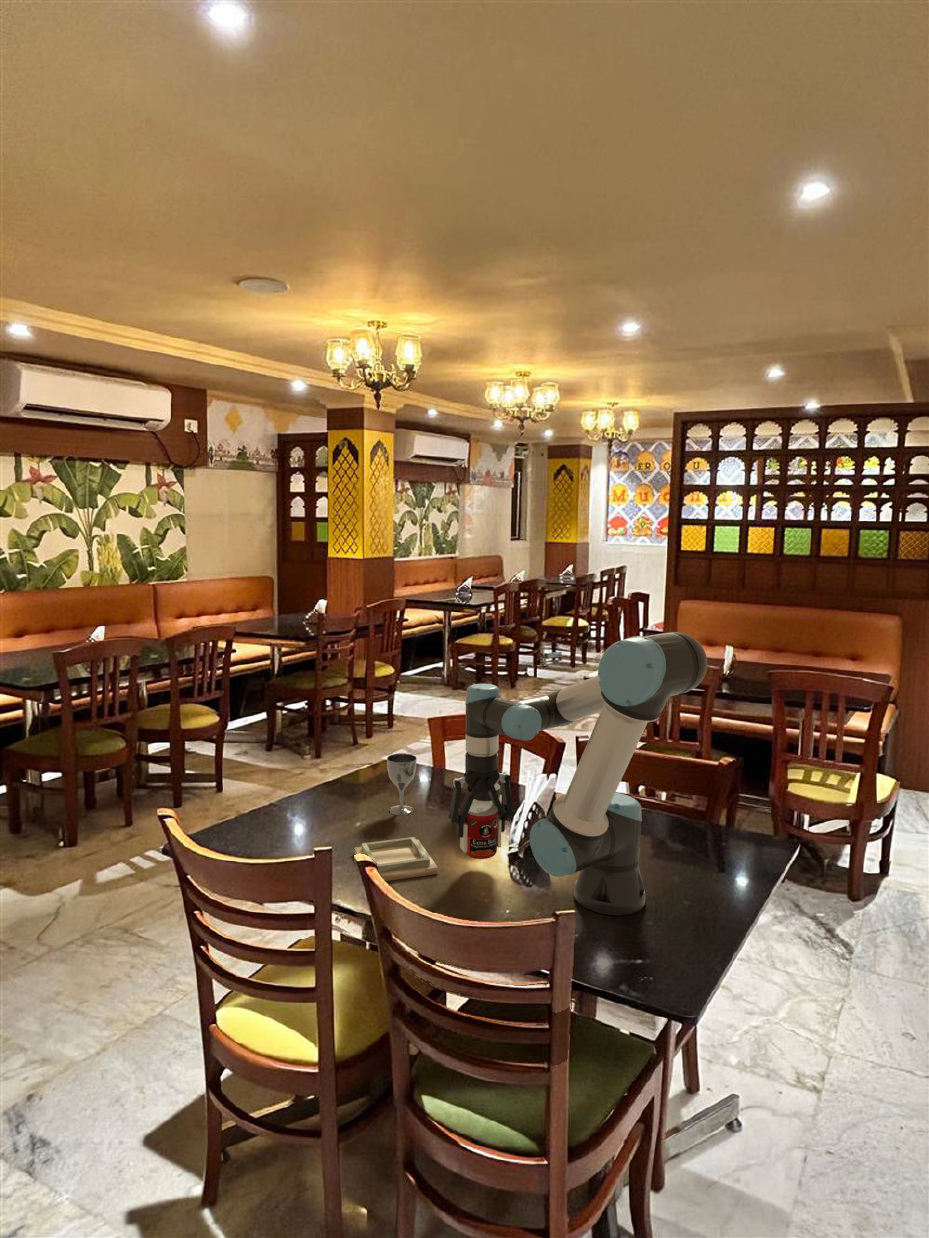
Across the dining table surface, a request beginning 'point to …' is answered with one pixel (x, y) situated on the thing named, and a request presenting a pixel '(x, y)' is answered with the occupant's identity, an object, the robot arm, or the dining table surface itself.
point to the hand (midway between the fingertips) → (480, 847)
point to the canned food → (482, 830)
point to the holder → (399, 858)
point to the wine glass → (401, 777)
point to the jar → (486, 797)
